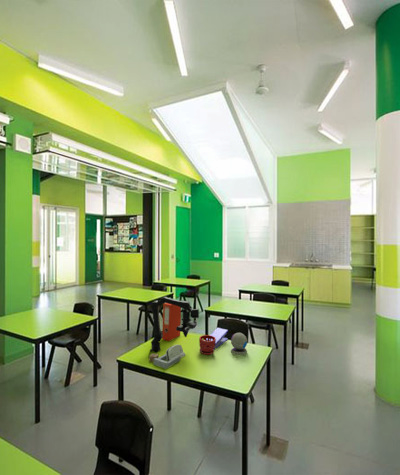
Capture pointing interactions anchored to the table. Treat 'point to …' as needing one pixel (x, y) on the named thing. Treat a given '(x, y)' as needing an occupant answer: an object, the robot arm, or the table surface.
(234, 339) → the webcam
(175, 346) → the hinge
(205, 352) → the plant pot
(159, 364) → the channel jig
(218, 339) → the stapler
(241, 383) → the table surface
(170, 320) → the file binder
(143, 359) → the table surface
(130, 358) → the table surface
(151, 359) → the spacer block
